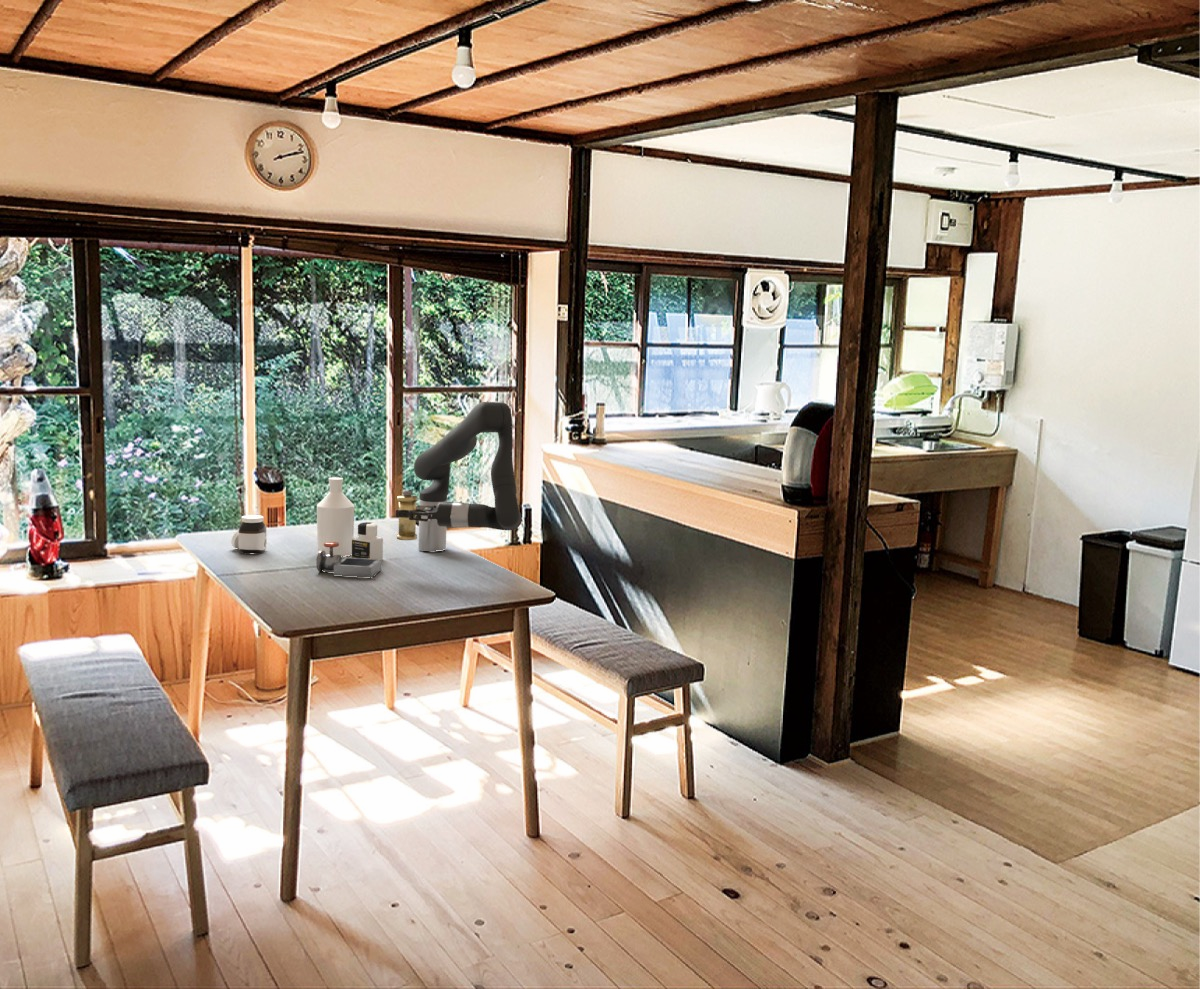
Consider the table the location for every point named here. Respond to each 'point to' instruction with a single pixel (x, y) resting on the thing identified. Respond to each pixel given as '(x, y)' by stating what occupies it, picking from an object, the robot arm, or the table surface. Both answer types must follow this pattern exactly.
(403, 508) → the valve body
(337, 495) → the bottle
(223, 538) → the table surface
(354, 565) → the grey piece
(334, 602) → the table surface
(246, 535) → the spread jar
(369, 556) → the medicine bottle
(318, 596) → the table surface
